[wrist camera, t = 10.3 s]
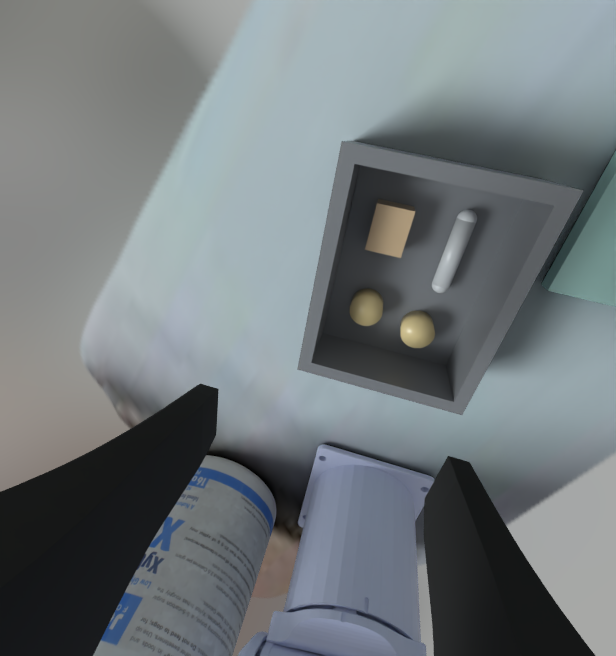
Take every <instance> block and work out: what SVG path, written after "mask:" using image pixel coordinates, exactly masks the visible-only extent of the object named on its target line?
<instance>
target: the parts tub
mask: <svg viewBox="0 0 616 656" xmlns="http://www.w3.org/2000/svg"><path fill="white" fill-rule="evenodd" d="M582 193H583V190H580V189H576V188H573V187H569V186H566V185H562V184H558V183H555V182H551V181H548V180H544V179H539V178H534V177H529V176H525V175H520V174H515V173H510V172H505V171H500V170H495V169H490V168H485V167H480V166H475V165H470V164H465V163H460V162H455V161H450V160H445V159H440V158H435V157H431V156H426V155H421V154H416V153H411V152H406V151H401V150H396V149H391V148H386V147H381V146H376V145H371V144H366V143H361V142H356V141H342V142H341V148H340V153H339V158H338V163H337V168H336V173H335V178H334V184H333V189H332V194H331V199H330V204H329V209H328V215H327V220H326V225H325V230H324V235H323V240H322V245H321V251H320V256H319V261H318V266H317V271H316V276H315V281H314V287H313V292H312V297H311V302H310V307H309V312H308V317H307V323H306V328H305V333H304V338H303V343H302V348H301V354H300V359H299V364H298V370H302V371H305V372H309V373H312V374H316V375H320V376H323V377H327V378H330V379H334V380H338V381H341V382H345V383H348V384H352V385H355V386H359V387H363V388H366V389H370V390H373V391H377V392H381V393H384V394H388V395H391V396H395V397H399V398H402V399H406V400H409V401H413V402H417V403H420V404H424V405H427V406H431V407H435V408H438V409H442V410H445V411H449V412H453V413H456V414H460V415H462V414H463V412H464V411H465V409H466V407H467V405H468V403H469V401H470V400H471V398H472V396H473V394H474V392H475V390H476V388H477V387H478V385H479V383H480V381H481V379H482V377H483V376H484V374H485V372H486V370H487V368H488V366H489V364H490V363H491V361H492V359H493V357H494V355H495V353H496V352H497V350H498V348H499V346H500V344H501V342H502V340H503V339H504V337H505V335H506V333H507V331H508V329H509V328H510V326H511V324H512V322H513V320H514V318H515V316H516V315H517V313H518V311H519V309H520V307H521V305H522V304H523V302H524V300H525V298H526V296H527V294H528V292H529V291H530V289H531V287H532V285H533V283H534V281H535V280H536V278H537V276H538V274H539V272H540V270H541V268H542V267H543V265H544V263H545V261H546V259H547V257H548V256H549V254H550V252H551V250H552V248H553V246H554V244H555V243H556V241H557V239H558V237H559V235H560V233H561V232H562V230H563V228H564V226H565V224H566V222H567V220H568V219H569V217H570V215H571V213H572V211H573V209H574V208H575V206H576V204H577V202H578V200H579V198H580V196H581V195H582Z"/></svg>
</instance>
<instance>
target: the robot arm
mask: <svg viewBox="0 0 616 656" xmlns="http://www.w3.org/2000/svg"><path fill="white" fill-rule="evenodd" d="M217 407H218V389H217V388H213V387H210V386H206V385H203V384H199V385H197V386H196V387H194V388H193V389H191V390H190V391H188V392H187V393H185V394H184V395H183V396H181V397H180V398H178V399H177V400H175V401H174V402H172V403H171V404H169V405H168V406H166V407H165V408H163V409H162V410H160V411H158V412H157V413H155V414H154V415H152V416H151V417H149V418H147V419H146V420H144V421H143V422H141V423H140V424H138V425H136V426H135V427H133V428H131V429H130V430H128V431H126V432H124V433H123V434H121V435H119V436H118V437H116V438H114V439H112V440H111V441H109V442H107V443H105V444H104V445H102V446H100V447H98V448H96V449H94V450H92V451H90V452H89V453H86V454H85V455H83V456H81V457H79V458H77V459H74V460H72V461H70V462H68V463H66V464H64V465H62V466H60V467H58V468H55V469H53V470H51V471H49V472H47V473H44V474H42V475H40V476H37V477H35V478H33V479H30V480H28V481H26V482H24V483H21V484H19V485H17V486H14V487H12V488H9V489H7V490H5V491H2V492H0V656H93V655H94V653H95V651H96V649H97V647H98V645H99V643H100V641H101V639H102V637H103V634H104V632H105V630H106V628H107V626H108V624H109V622H110V620H111V618H112V616H113V614H114V612H115V610H116V608H117V607H118V605H119V603H120V601H121V599H122V597H123V595H124V593H125V591H126V589H127V587H128V585H129V583H130V581H131V579H132V577H133V576H134V574H135V572H136V570H137V568H138V566H139V564H140V562H141V561H142V559H143V557H144V555H145V553H146V551H147V549H148V547H149V546H150V544H151V542H152V541H153V539H154V537H155V536H156V534H157V532H158V531H159V529H160V527H161V526H162V524H163V523H164V521H165V520H166V518H167V517H168V515H169V514H170V512H171V510H172V509H173V507H174V506H175V504H176V503H177V501H178V500H179V498H180V497H181V495H182V494H183V492H184V490H185V489H186V487H187V486H188V484H189V483H190V481H191V480H192V478H193V476H194V475H195V473H196V472H197V470H198V469H199V467H200V465H201V464H202V462H203V460H204V458H205V456H206V454H207V452H208V450H209V448H210V446H211V444H212V442H213V440H214V438H215V436H216V426H217ZM323 456H324V457H323ZM423 507H424V542H425V553H426V564H427V574H428V584H429V594H430V604H431V614H432V624H433V641H434V656H595V655H594V653H593V652H592V651H591V649H590V648H589V647H588V646H587V644H586V643H585V642H584V640H583V639H582V638H581V636H580V635H579V634H578V632H577V631H576V630H575V628H574V627H573V625H572V624H571V623H570V621H569V620H568V619H567V617H566V616H565V615H564V613H563V612H562V611H561V609H560V608H559V607H558V605H557V604H556V602H555V601H554V599H553V598H552V596H551V595H550V594H549V592H548V591H547V589H546V588H545V586H544V585H543V584H542V582H541V580H540V579H539V577H538V576H537V574H536V573H535V571H534V570H533V568H532V567H531V565H530V564H529V562H528V561H527V559H526V558H525V556H524V554H523V553H522V551H521V550H520V548H519V547H518V545H517V543H516V542H515V540H514V539H513V537H512V535H511V533H510V532H509V530H508V528H507V527H506V525H505V523H504V522H503V520H502V518H501V517H500V515H499V513H498V512H497V510H496V508H495V506H494V505H493V503H492V501H491V499H490V498H489V496H488V494H487V492H486V491H485V489H484V487H483V485H482V483H481V482H480V480H479V478H478V476H477V475H476V473H475V471H474V469H473V468H472V466H471V464H470V462H467V461H463V460H460V459H457V458H453V457H450V456H448V457H447V459H446V461H445V463H444V465H443V466H442V468H441V470H440V472H439V474H438V475H437V477H436V479H435V480H434V478H433V477H431V476H429V475H426V474H422V473H419V472H415V471H412V470H409V469H405V468H402V467H399V466H395V465H392V464H389V463H385V462H382V461H379V460H375V459H372V458H369V457H365V456H362V455H359V454H355V453H352V452H349V451H345V450H342V449H339V448H335V447H332V446H329V445H324V444H323V445H320V446H319V447H318V449H317V453H316V457H315V460H314V464H313V468H312V472H311V475H310V479H309V483H308V486H307V490H306V494H305V497H304V501H303V505H302V508H301V512H300V516H299V520H298V524H299V526H300V527H302V528H303V532H302V536H301V540H300V544H299V548H298V553H297V557H296V561H295V565H294V569H293V574H292V578H291V582H290V586H289V590H288V594H287V599H286V603H285V607H284V611H283V612H279V611H274V612H273V616H272V620H271V624H270V628H269V631H268V633H267V632H258V633H256V635H254V636H253V637H252V638H251V640H250V641H249V642H248V643H247V644H246V645H245V646H244V647H243V648H242V650H241V651H240V652H239V654H238V656H426V646H425V644H424V643H421V635H420V615H419V593H418V574H417V573H418V572H417V551H416V530H415V521H416V519H417V517H418V516H419V514H420V512H421V510H422V508H423Z"/></svg>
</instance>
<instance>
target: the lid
mask: <svg viewBox="0 0 616 656" xmlns="http://www.w3.org/2000/svg"><path fill="white" fill-rule="evenodd" d="M542 285H543V286H544V288H545V289H546V290H547V291H551V292H555V293H559V294H563V295H568V296H572V297H576V298H580V299H585V300H589V301H593V302H597V303H601V304H606V305H610V306H614V307H616V151H615V153H614V155H613V156H612V158H611V160H610V162H609V164H608V165H607V167H606V169H605V171H604V173H603V174H602V176H601V178H600V180H599V182H598V183H597V185H596V187H595V189H594V191H593V192H592V194H591V196H590V198H589V200H588V201H587V203H586V205H585V207H584V209H583V210H582V212H581V214H580V216H579V218H578V219H577V221H576V223H575V225H574V226H573V228H572V230H571V232H570V234H569V235H568V237H567V239H566V241H565V243H564V244H563V246H562V248H561V250H560V252H559V253H558V255H557V257H556V259H555V261H554V262H553V264H552V266H551V268H550V270H549V271H548V273H547V275H546V277H545V279H544V280H543V282H542Z"/></svg>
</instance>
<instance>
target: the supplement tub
mask: <svg viewBox="0 0 616 656" xmlns="http://www.w3.org/2000/svg"><path fill="white" fill-rule="evenodd" d="M275 519H276V503H275V500H274V497H273V495H272V493H271V491H270V490H269V488H268V487H267V485H266V484H265V483H264V482H263V481H262V480H261V479H260V478H259V477H258V476H257V475H256V474H254V473H253V472H252V471H250V470H249V469H247V468H246V467H244V466H242V465H240V464H238V463H236V462H234V461H231V460H228V459H225V458H221V457H217V456H210V455H206V456H205V458H204V460H203V462H202V464H201V465H200V467H199V469H198V470H197V472H196V473H195V475H194V476H193V478H192V480H191V481H190V483H189V484H188V486H187V487H186V489H185V490H184V492H183V494H182V495H181V497H180V498H179V500H178V501H177V503H176V504H175V506H174V507H173V509H172V510H171V512H170V514H169V515H168V517H167V518H166V520H165V521H164V523H163V524H162V526H161V527H160V529H159V531H158V532H157V534H156V536H155V537H154V539H153V541H152V542H151V544H150V546H149V547H148V549H147V551H146V553H145V555H144V557H143V559H142V561H141V562H140V564H139V566H138V568H137V570H136V572H135V574H134V576H133V577H132V579H131V581H130V583H129V585H128V587H127V589H126V591H125V593H124V595H123V597H122V599H121V601H120V603H119V605H118V607H117V608H116V610H115V612H114V614H113V616H112V618H111V620H110V622H109V624H108V626H107V628H106V630H105V632H104V634H103V637H102V639H101V641H100V643H99V645H98V647H97V649H96V651H95V653H94V655H93V656H232V655H233V652H234V648H235V645H236V642H237V639H238V636H239V633H240V629H241V626H242V623H243V620H244V617H245V614H246V611H247V608H248V605H249V601H250V598H251V595H252V592H253V589H254V586H255V583H256V580H257V576H258V573H259V570H260V567H261V564H262V561H263V558H264V555H265V552H266V548H267V545H268V542H269V539H270V536H271V533H272V529H273V526H274V523H275Z"/></svg>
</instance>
